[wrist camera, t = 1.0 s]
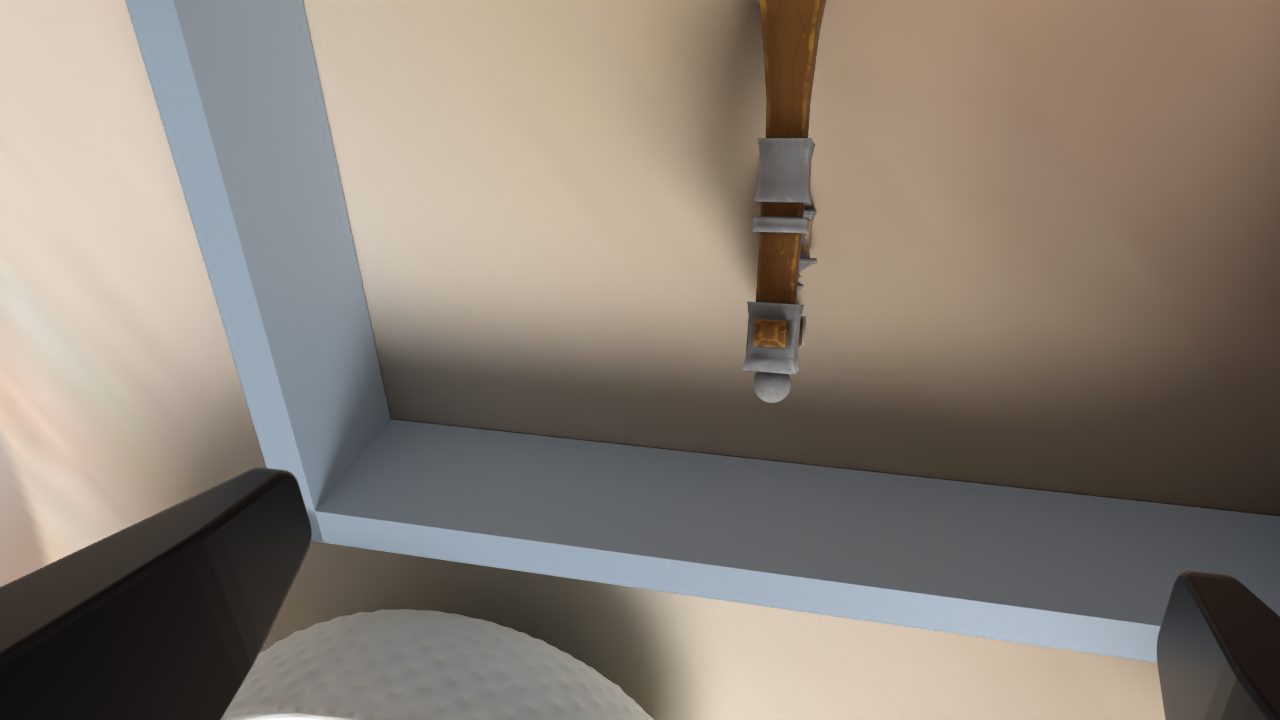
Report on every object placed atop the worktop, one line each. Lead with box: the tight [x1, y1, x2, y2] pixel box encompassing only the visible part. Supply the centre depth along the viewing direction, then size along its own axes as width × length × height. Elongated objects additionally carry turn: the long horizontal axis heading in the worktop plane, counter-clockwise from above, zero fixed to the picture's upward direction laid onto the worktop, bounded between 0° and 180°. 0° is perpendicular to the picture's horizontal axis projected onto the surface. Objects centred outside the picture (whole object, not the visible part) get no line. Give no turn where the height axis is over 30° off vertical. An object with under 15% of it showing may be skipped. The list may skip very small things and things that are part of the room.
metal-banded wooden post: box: [743, 0, 826, 403], centre depth 18 cm, size 2×8×4 cm, turn 4°
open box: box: [125, 0, 1280, 663], centre depth 18 cm, size 24×16×4 cm, turn 92°
